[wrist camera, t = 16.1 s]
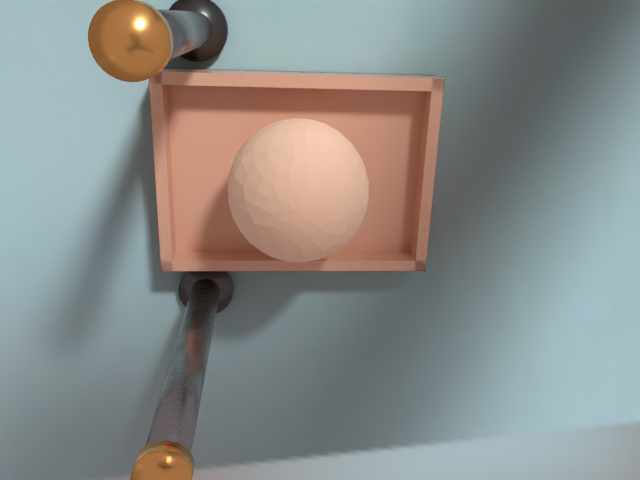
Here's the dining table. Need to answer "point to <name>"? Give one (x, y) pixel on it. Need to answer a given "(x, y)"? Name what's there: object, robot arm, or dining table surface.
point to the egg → (298, 190)
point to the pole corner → (154, 36)
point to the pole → (184, 380)
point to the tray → (281, 104)
